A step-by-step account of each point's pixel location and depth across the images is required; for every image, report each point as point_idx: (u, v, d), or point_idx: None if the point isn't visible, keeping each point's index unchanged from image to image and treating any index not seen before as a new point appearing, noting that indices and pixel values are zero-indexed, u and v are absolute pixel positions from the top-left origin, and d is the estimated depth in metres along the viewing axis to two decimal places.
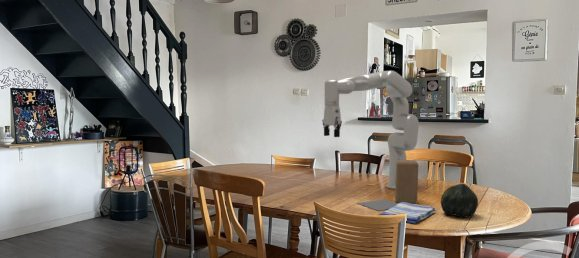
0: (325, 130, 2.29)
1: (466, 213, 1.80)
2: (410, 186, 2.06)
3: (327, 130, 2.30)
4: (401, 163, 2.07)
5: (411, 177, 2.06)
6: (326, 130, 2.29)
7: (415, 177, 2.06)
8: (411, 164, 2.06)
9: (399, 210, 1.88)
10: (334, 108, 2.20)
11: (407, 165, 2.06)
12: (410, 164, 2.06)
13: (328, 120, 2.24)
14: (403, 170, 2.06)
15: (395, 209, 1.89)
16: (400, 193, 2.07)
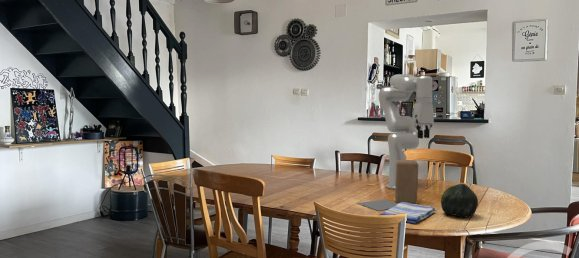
0: None
1: (466, 213, 1.80)
2: (410, 186, 2.06)
3: None
4: (401, 163, 2.07)
5: (411, 177, 2.06)
6: None
7: (415, 177, 2.06)
8: (411, 164, 2.06)
9: (399, 210, 1.88)
10: None
11: (407, 165, 2.06)
12: (410, 164, 2.06)
13: (427, 119, 2.12)
14: (403, 170, 2.06)
15: (395, 209, 1.89)
16: (400, 193, 2.07)
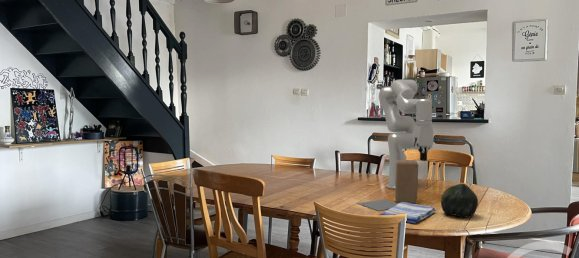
0: None
1: (466, 213, 1.80)
2: (410, 186, 2.06)
3: None
4: (401, 163, 2.07)
5: (411, 177, 2.06)
6: None
7: (414, 177, 2.06)
8: (411, 164, 2.06)
9: (399, 210, 1.88)
10: None
11: (407, 165, 2.06)
12: (410, 164, 2.06)
13: (427, 141, 2.13)
14: (403, 170, 2.06)
15: (395, 209, 1.89)
16: (400, 193, 2.07)
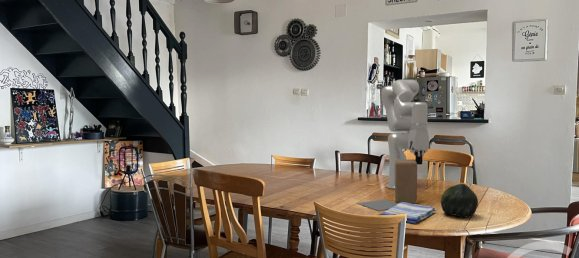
0: None
1: (466, 213, 1.80)
2: (410, 186, 2.06)
3: None
4: (400, 163, 2.06)
5: (411, 177, 2.05)
6: None
7: (414, 177, 2.05)
8: (410, 164, 2.05)
9: (399, 210, 1.88)
10: None
11: (406, 165, 2.05)
12: (409, 164, 2.05)
13: (422, 145, 2.11)
14: (402, 170, 2.06)
15: (395, 209, 1.89)
16: (400, 193, 2.07)
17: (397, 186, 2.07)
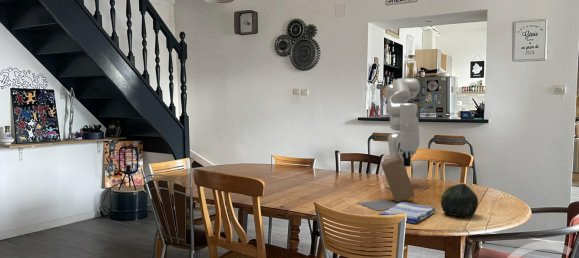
0: None
1: (466, 213, 1.80)
2: (403, 182, 2.07)
3: None
4: (386, 164, 2.08)
5: (400, 173, 2.07)
6: None
7: (403, 172, 2.07)
8: (395, 161, 2.07)
9: (399, 210, 1.88)
10: None
11: (392, 163, 2.08)
12: (394, 161, 2.07)
13: (410, 147, 2.08)
14: (390, 169, 2.08)
15: (395, 209, 1.89)
16: (397, 192, 2.08)
17: (391, 186, 2.08)
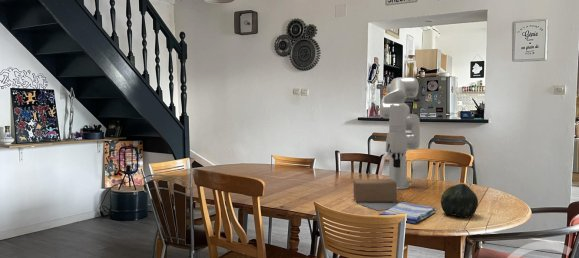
0: None
1: (466, 213, 1.80)
2: (379, 188, 2.08)
3: None
4: (357, 198, 2.09)
5: (370, 188, 2.09)
6: None
7: (370, 185, 2.09)
8: (357, 188, 2.09)
9: (399, 210, 1.88)
10: None
11: (358, 192, 2.09)
12: (357, 189, 2.09)
13: (400, 148, 2.05)
14: (363, 196, 2.09)
15: (395, 209, 1.89)
16: (387, 197, 2.08)
17: (380, 200, 2.09)
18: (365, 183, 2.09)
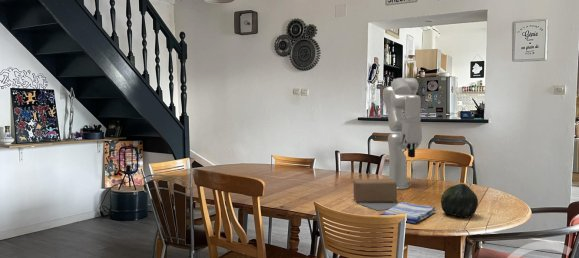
0: None
1: (466, 213, 1.80)
2: (379, 188, 2.08)
3: None
4: (357, 198, 2.09)
5: (370, 188, 2.09)
6: None
7: (370, 185, 2.09)
8: (357, 188, 2.09)
9: (399, 210, 1.88)
10: None
11: (358, 192, 2.09)
12: (357, 189, 2.09)
13: (415, 138, 2.12)
14: (363, 196, 2.09)
15: (395, 209, 1.89)
16: (387, 197, 2.08)
17: (380, 200, 2.09)
18: (365, 183, 2.09)
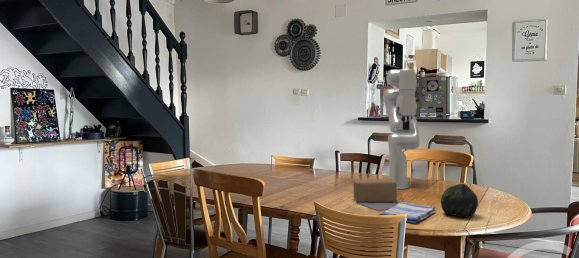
0: None
1: (466, 213, 1.80)
2: (379, 188, 2.08)
3: None
4: (357, 198, 2.09)
5: (370, 188, 2.09)
6: None
7: (370, 185, 2.09)
8: (357, 188, 2.09)
9: (399, 210, 1.88)
10: None
11: (358, 192, 2.09)
12: (357, 189, 2.09)
13: (409, 111, 2.15)
14: (363, 196, 2.09)
15: (395, 209, 1.89)
16: (387, 197, 2.08)
17: (380, 200, 2.09)
18: (365, 183, 2.09)
